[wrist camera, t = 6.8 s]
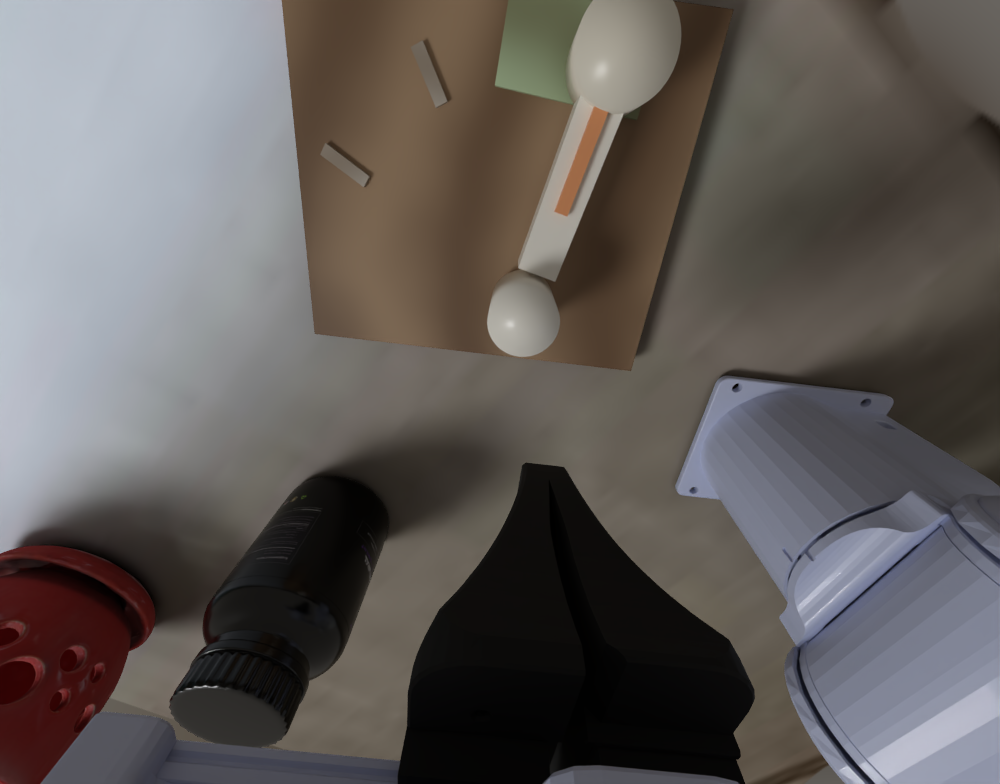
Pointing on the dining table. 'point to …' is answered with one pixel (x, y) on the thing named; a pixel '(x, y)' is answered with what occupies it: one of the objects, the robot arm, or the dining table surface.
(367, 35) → the brown wooden board
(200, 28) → the dining table surface
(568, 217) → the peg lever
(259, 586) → the supplement bottle
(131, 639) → the plant pot
